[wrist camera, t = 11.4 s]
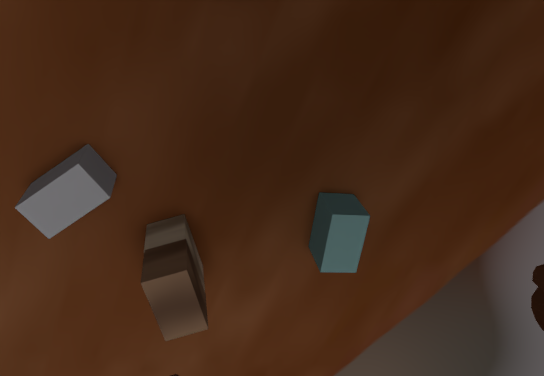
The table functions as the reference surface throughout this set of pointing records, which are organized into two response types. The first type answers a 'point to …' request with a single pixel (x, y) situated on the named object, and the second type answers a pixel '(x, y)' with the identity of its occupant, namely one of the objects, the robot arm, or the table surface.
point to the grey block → (67, 192)
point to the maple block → (173, 237)
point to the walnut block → (174, 290)
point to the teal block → (338, 232)
